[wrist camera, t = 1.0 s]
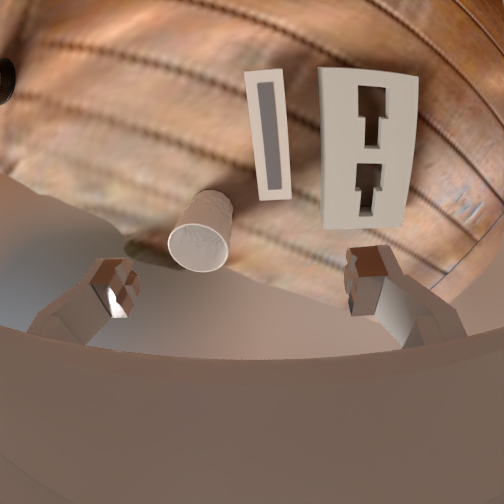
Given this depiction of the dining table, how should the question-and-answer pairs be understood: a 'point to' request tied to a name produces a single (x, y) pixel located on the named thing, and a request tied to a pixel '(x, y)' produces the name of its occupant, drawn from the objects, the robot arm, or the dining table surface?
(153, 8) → the dining table surface
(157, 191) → the dining table surface
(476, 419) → the robot arm
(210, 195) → the white cup
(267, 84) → the cream rectangular block
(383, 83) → the mounting board
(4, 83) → the french press
